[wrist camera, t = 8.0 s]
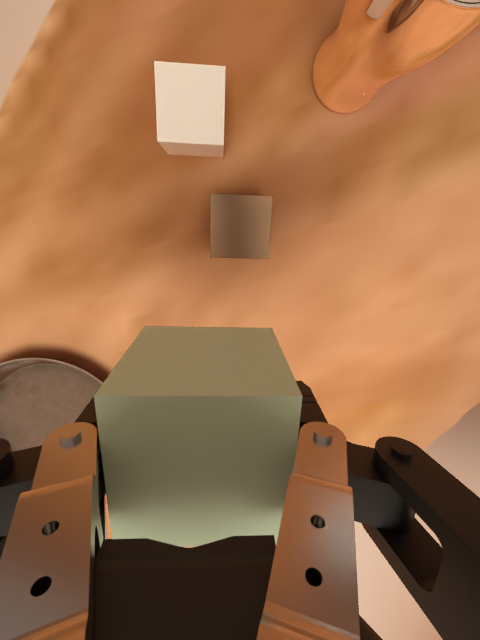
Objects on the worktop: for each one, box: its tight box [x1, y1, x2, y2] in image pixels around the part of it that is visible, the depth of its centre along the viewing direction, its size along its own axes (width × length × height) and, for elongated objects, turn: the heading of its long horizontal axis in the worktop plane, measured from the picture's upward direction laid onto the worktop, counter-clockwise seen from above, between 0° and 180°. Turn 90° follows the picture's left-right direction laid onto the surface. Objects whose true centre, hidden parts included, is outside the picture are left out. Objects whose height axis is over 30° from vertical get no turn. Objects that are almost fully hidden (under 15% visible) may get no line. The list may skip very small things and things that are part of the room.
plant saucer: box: [0, 358, 104, 452], centre depth 34 cm, size 18×18×3 cm
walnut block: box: [210, 194, 273, 259], centre depth 28 cm, size 5×5×5 cm
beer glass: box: [313, 0, 480, 113], centre depth 19 cm, size 7×7×15 cm
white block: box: [154, 61, 225, 158], centre depth 25 cm, size 5×5×5 cm
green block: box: [94, 326, 303, 547], centre depth 11 cm, size 5×5×5 cm
